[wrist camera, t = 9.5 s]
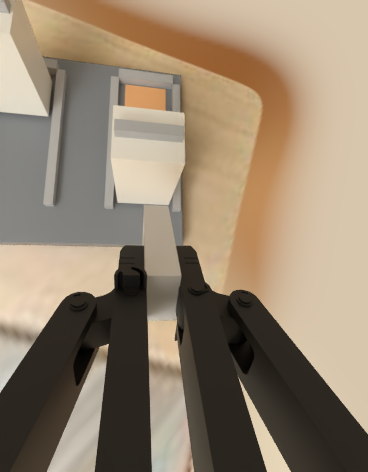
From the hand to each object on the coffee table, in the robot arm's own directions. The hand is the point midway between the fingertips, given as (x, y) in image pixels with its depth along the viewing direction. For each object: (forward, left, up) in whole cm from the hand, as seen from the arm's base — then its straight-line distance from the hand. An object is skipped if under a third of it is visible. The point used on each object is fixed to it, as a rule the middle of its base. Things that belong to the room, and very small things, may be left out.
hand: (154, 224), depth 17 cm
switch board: (-12, +2, -11) cm, 17 cm away
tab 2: (-5, +4, -9) cm, 11 cm away
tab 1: (-20, 0, -9) cm, 22 cm away
